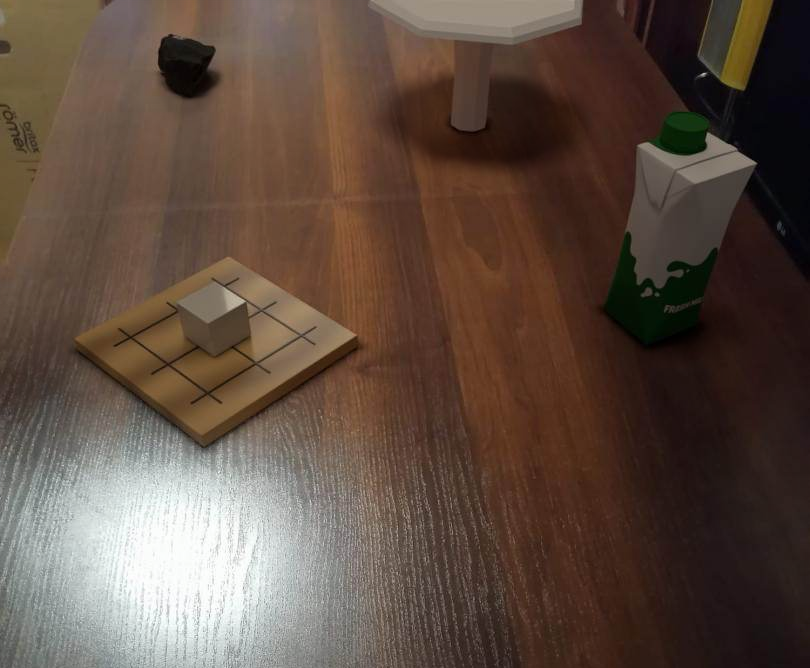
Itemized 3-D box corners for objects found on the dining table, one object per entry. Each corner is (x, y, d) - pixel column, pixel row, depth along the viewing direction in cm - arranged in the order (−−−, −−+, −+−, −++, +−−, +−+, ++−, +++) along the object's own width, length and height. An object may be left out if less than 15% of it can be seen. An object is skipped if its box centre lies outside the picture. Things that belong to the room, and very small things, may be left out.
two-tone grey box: (183, 335, 86) (175, 302, 83) (220, 314, 88) (214, 280, 85) (214, 357, 84) (207, 323, 81) (251, 334, 86) (246, 301, 83)
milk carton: (652, 284, 96) (705, 99, 80) (709, 328, 91) (777, 141, 75) (590, 307, 93) (632, 120, 77) (646, 354, 88) (702, 165, 72)
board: (77, 350, 87) (72, 337, 86) (230, 267, 96) (228, 254, 95) (204, 447, 78) (201, 434, 77) (358, 346, 88) (357, 333, 87)
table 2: (512, 197, 107) (530, 53, 94) (326, 136, 115) (319, -3, 102) (602, 110, 122) (629, -24, 109) (432, 62, 131) (437, -68, 118)
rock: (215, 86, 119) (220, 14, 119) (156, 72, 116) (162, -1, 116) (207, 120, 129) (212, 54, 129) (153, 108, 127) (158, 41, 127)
